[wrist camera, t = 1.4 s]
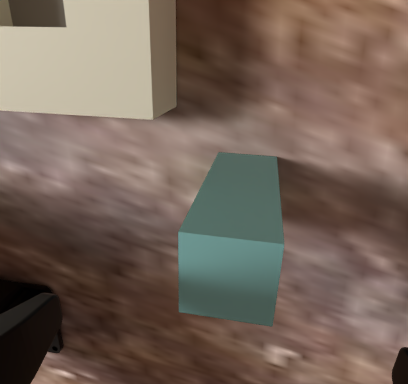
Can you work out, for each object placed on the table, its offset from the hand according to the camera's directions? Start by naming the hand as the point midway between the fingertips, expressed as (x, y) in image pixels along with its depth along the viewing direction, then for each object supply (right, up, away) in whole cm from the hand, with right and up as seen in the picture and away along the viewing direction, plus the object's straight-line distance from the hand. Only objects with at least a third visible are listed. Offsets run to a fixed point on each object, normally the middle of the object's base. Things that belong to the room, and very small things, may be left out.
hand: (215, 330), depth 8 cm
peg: (+2, +4, +10) cm, 11 cm away
